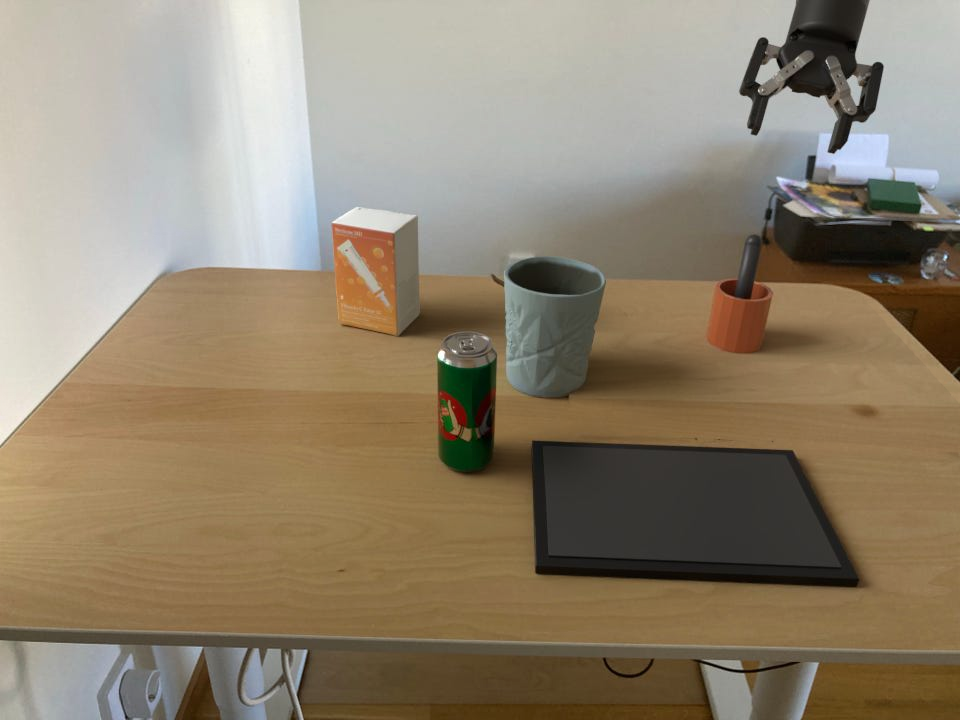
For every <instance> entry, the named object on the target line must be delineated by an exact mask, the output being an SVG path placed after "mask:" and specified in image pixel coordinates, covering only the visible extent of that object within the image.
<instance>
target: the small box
mask: <svg viewBox="0 0 960 720" xmlns="http://www.w3.org/2000/svg"><path fill="white" fill-rule="evenodd" d="M331 237H332V248H333V249H332V250H333V259H334V260H333V262H334V276H335V277H334V278H335V292H336V305H337V315H338V316H337V317H338V324H339V325H342V326H343V325H344V326H350V327H353V328H354V327H355V328H359V329H363V330H368V331H374V332H379V333H383V334H387V335H392V336H394V337H399V336H400V335H401V334H402V333H403V332H404V331H405V330H406V329H407V328H408V327H409V326H410V325H411V324H412V323H413V322H414V321H415V320H416V319H417V318H418V317H419V316H420V313H421V312H420V267H419V266H420V265H419V264H420V263H419V260H420V259H419V216H418V215H416V214H408V213H401V212H396V211H392V210H385V209H375V208H369V207H363V206H362V207H361V206H355V207H354V208H352V209H350V210H348V211H347V212H345V213H344V214H342V215H340V216H339V217H338V218H336V219H335V220H333V221H332V222H331Z"/></svg>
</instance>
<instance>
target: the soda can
mask: <svg viewBox="0 0 960 720" xmlns="http://www.w3.org/2000/svg"><path fill="white" fill-rule="evenodd" d="M436 361H437V362H436V363H437V364H436V366H437V368H436V369H437V371H436V373H437V374H436V375H437V377H436V378H437V443H438V444H437V451H438V452H437V454H438V458H439V460H440V462H441V463H442V464H444V465H445V466H446V467H447V468H449V469H451V470H452V471H455V472H459V473H474V472H478V471H480V470H482V469H484V468H485V467H487V466H488V465H489V464H490V463H491V462H492V460H493V459H494V456H495V435H496V434H495V433H496V432H495V431H496V429H495V428H496V406H497V405H496V403H497V374H498V373H497V372H498V352H497V351H496V349H495V348H494V342H493V340H492V339H491V337H489V336H488V335H486V334H484V333H480V332H476V331H458V332H453V333H450V334H448V335H446V336H445V337H444V338H442V341H441V346H440V348H439V349H438V350H437V354H436Z"/></svg>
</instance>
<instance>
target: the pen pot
mask: <svg viewBox="0 0 960 720" xmlns="http://www.w3.org/2000/svg"><path fill="white" fill-rule="evenodd" d="M737 280H738V277H737V278H735V277H733V278H725V279H721V280H719V281H718V282H716V284H715V286H714V291H713V296H712V302H711V307H710V313H709V318H708V322H707V325H708V326H707V328H706V335H705V338H706V340H707V342H708V343H709V344H710V345H711V346H713V347H714V348H716V349H718V350H720V351H724V352H727V353H732V354H751V353H755V352H757V351H759V350H760V349H761V348H762V345H763V342H764V341H763V340H764V336H765V333H766V327H767V323H768V318H769V315H770V309H771V305H772V302H773V296H774V292H773V290H772V288H771V287H769V286H767V285H766V284H764V283H761V282H759V281H756V280H755V281H754V286H753V290H752V295H751V299H741V298H736V297H734V295H735V290H736V285H737Z"/></svg>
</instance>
